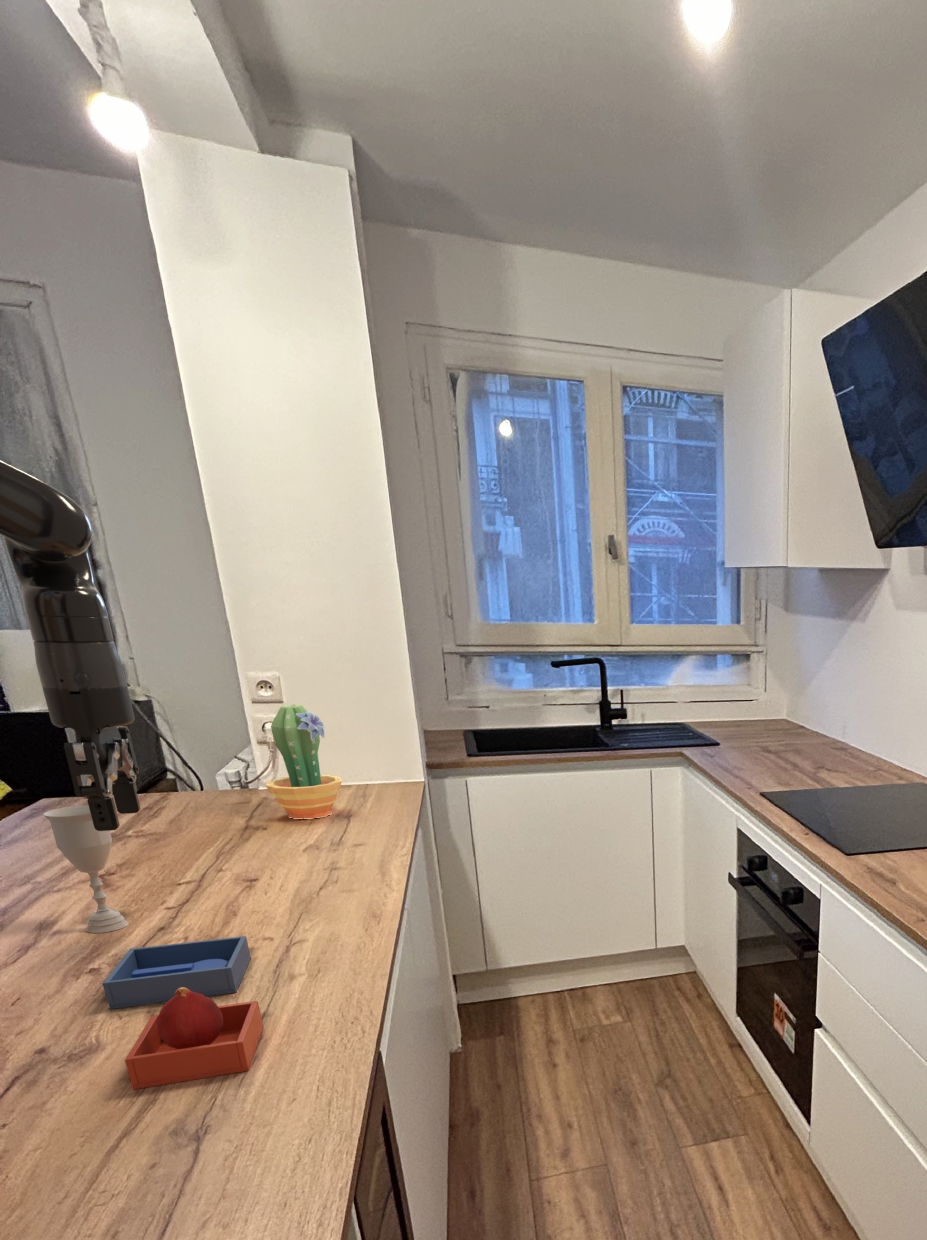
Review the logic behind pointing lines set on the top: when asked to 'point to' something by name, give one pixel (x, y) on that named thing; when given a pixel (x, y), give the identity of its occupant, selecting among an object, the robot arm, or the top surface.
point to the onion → (189, 1020)
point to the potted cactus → (301, 765)
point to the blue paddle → (180, 968)
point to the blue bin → (162, 987)
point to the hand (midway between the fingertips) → (119, 821)
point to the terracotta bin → (197, 1050)
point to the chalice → (86, 858)
